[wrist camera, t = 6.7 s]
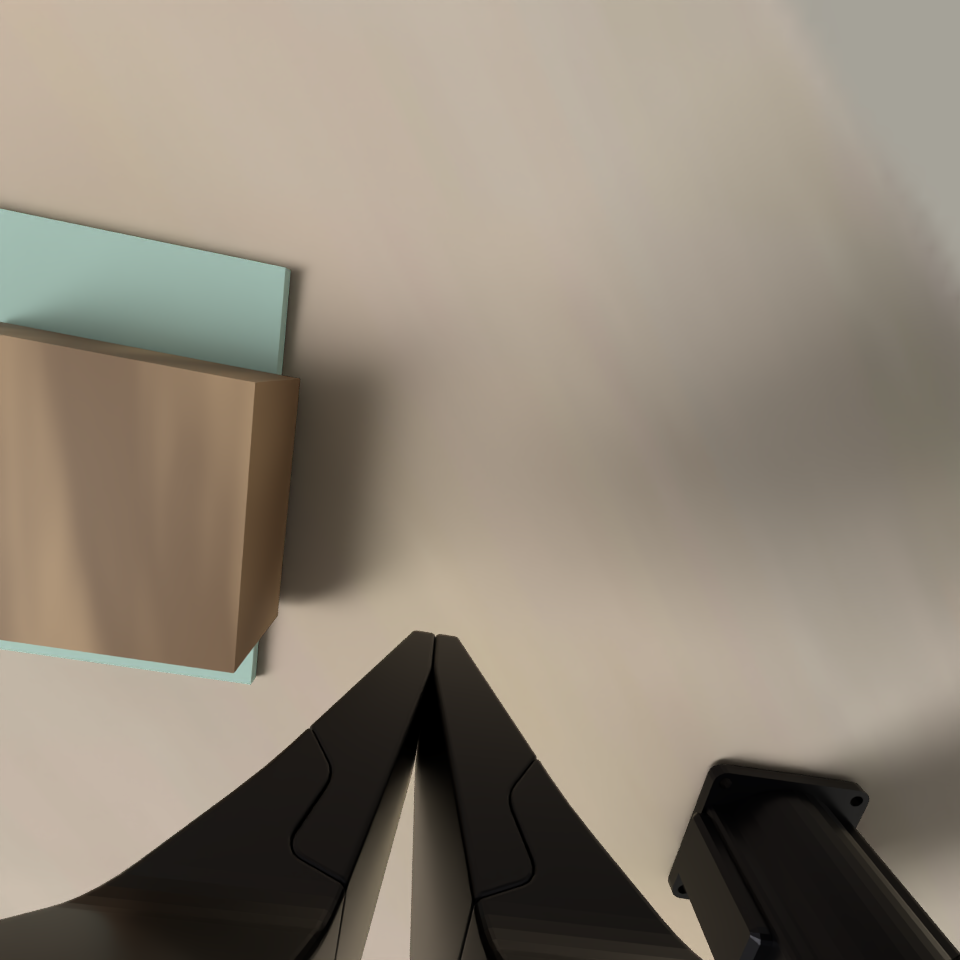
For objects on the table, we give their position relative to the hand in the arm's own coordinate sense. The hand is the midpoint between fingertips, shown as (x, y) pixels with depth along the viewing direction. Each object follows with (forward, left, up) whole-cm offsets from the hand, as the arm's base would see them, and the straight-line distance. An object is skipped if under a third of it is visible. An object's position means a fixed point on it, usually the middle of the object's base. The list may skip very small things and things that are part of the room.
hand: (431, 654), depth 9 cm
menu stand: (+5, 0, -5) cm, 7 cm away
